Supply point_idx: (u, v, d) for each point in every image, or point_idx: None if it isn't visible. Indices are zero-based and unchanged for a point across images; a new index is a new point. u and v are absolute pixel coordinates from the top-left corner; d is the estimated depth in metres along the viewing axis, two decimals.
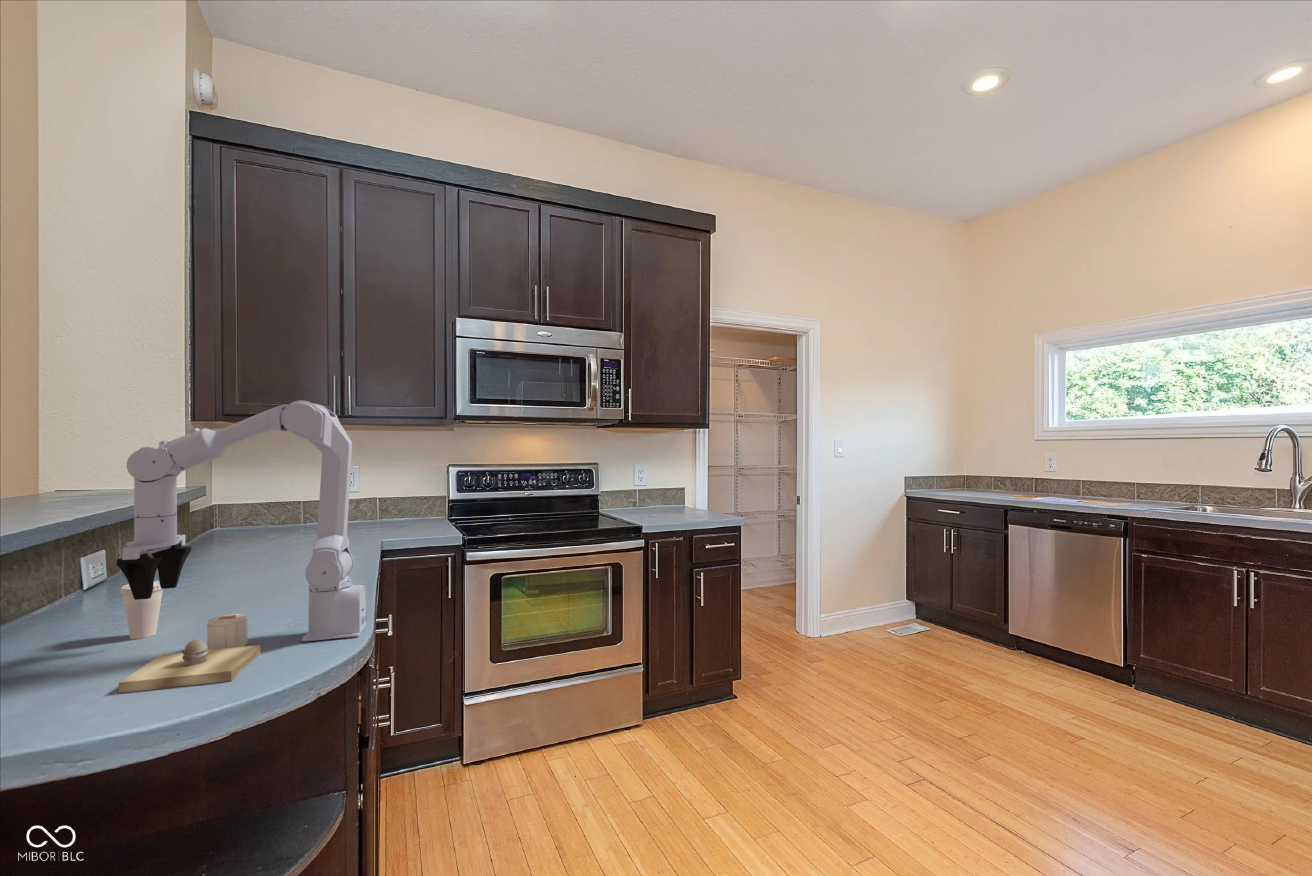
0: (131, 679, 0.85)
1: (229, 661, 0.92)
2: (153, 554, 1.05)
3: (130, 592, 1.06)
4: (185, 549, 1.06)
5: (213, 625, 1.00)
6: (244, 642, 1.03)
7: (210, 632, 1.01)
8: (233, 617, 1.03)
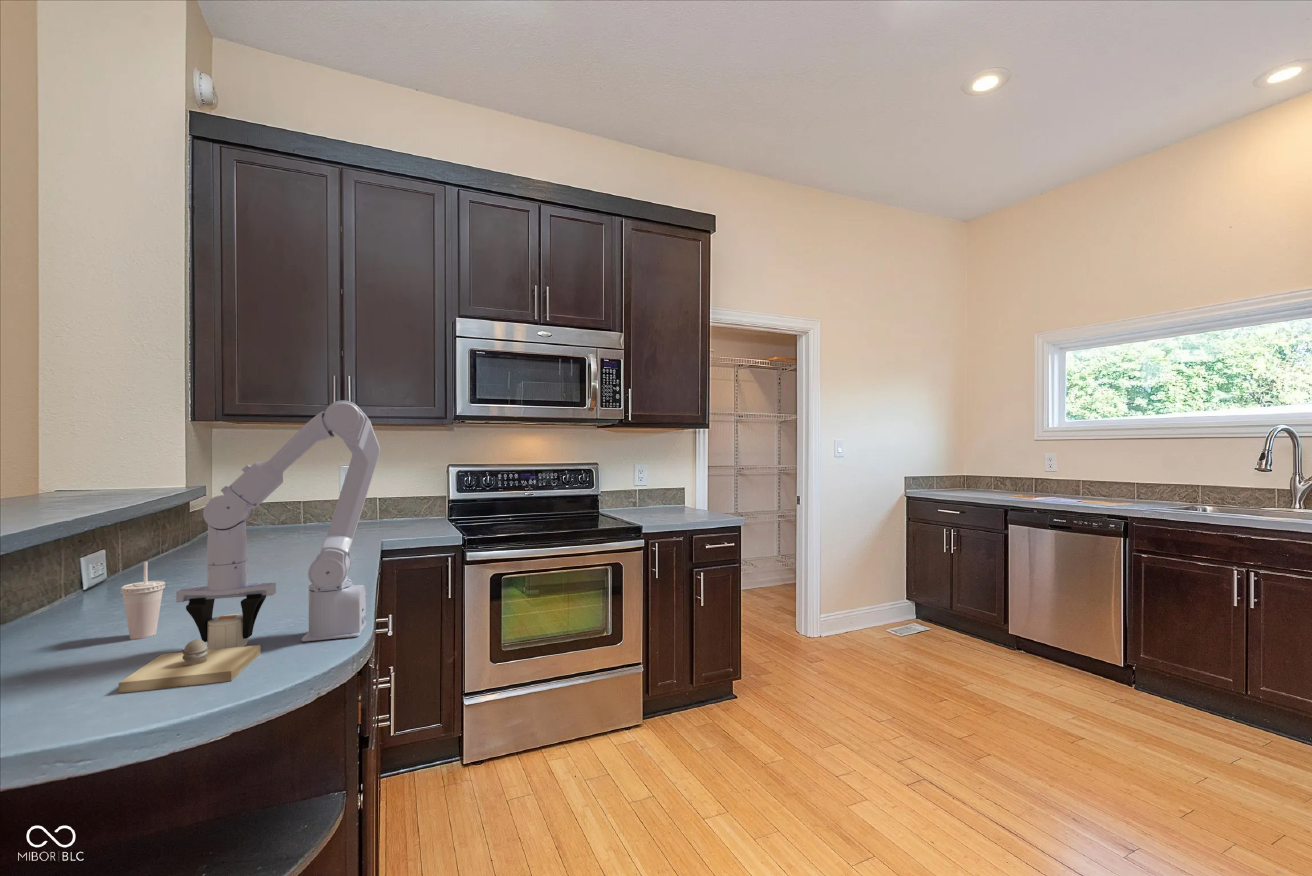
0: (131, 679, 0.85)
1: (229, 661, 0.92)
2: None
3: (130, 592, 1.06)
4: None
5: (213, 625, 1.00)
6: (244, 642, 1.03)
7: (210, 632, 1.01)
8: (233, 617, 1.03)
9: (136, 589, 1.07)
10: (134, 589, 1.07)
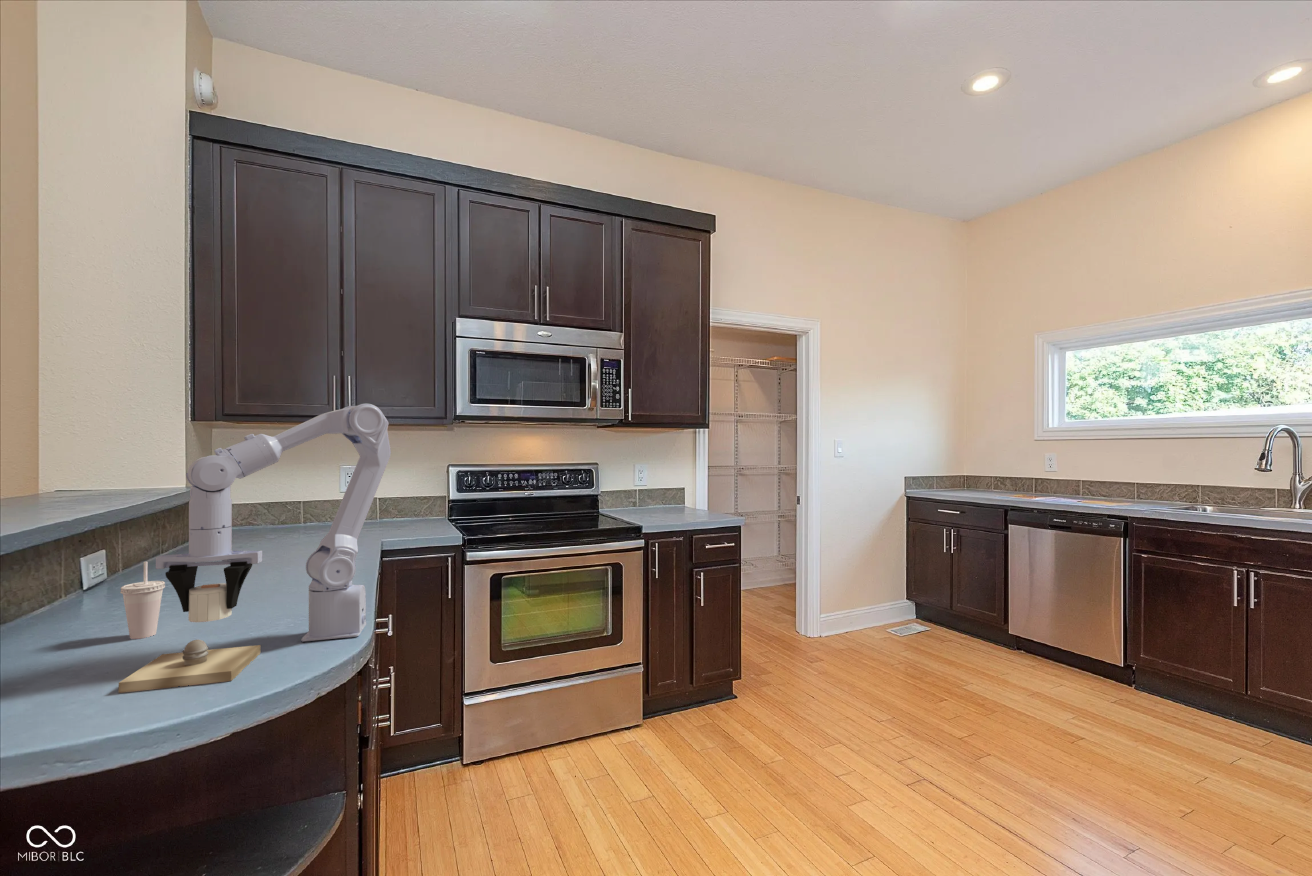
0: (131, 679, 0.85)
1: (229, 661, 0.92)
2: None
3: (130, 592, 1.06)
4: (224, 569, 0.95)
5: (194, 593, 0.94)
6: (228, 613, 0.97)
7: (191, 601, 0.94)
8: (216, 586, 0.97)
9: (136, 589, 1.07)
10: (134, 589, 1.07)
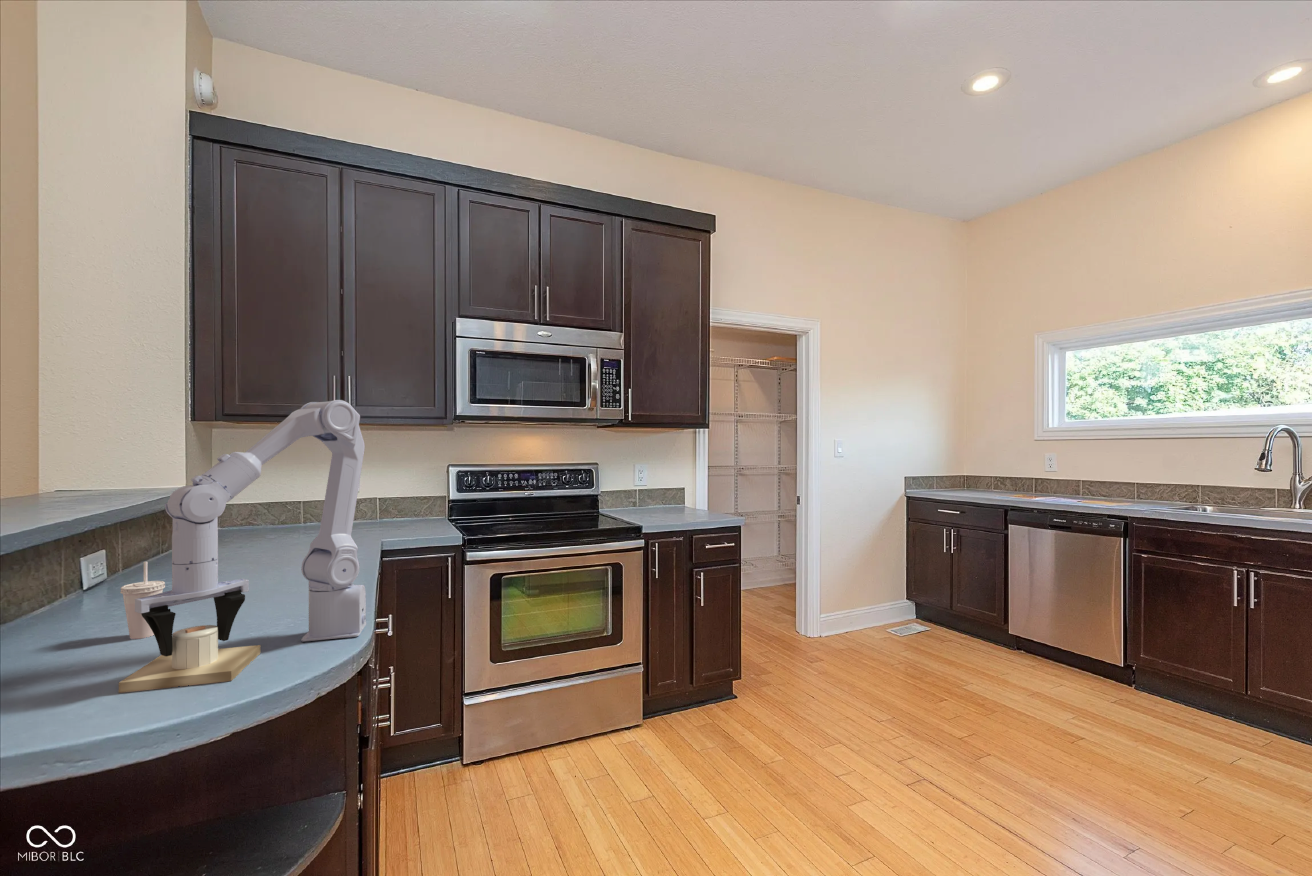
0: (131, 679, 0.85)
1: (229, 661, 0.92)
2: (214, 599, 0.96)
3: (130, 592, 1.06)
4: (230, 599, 0.94)
5: (194, 637, 0.89)
6: (217, 653, 0.94)
7: (189, 646, 0.89)
8: (204, 627, 0.92)
9: (136, 589, 1.07)
10: (134, 589, 1.07)
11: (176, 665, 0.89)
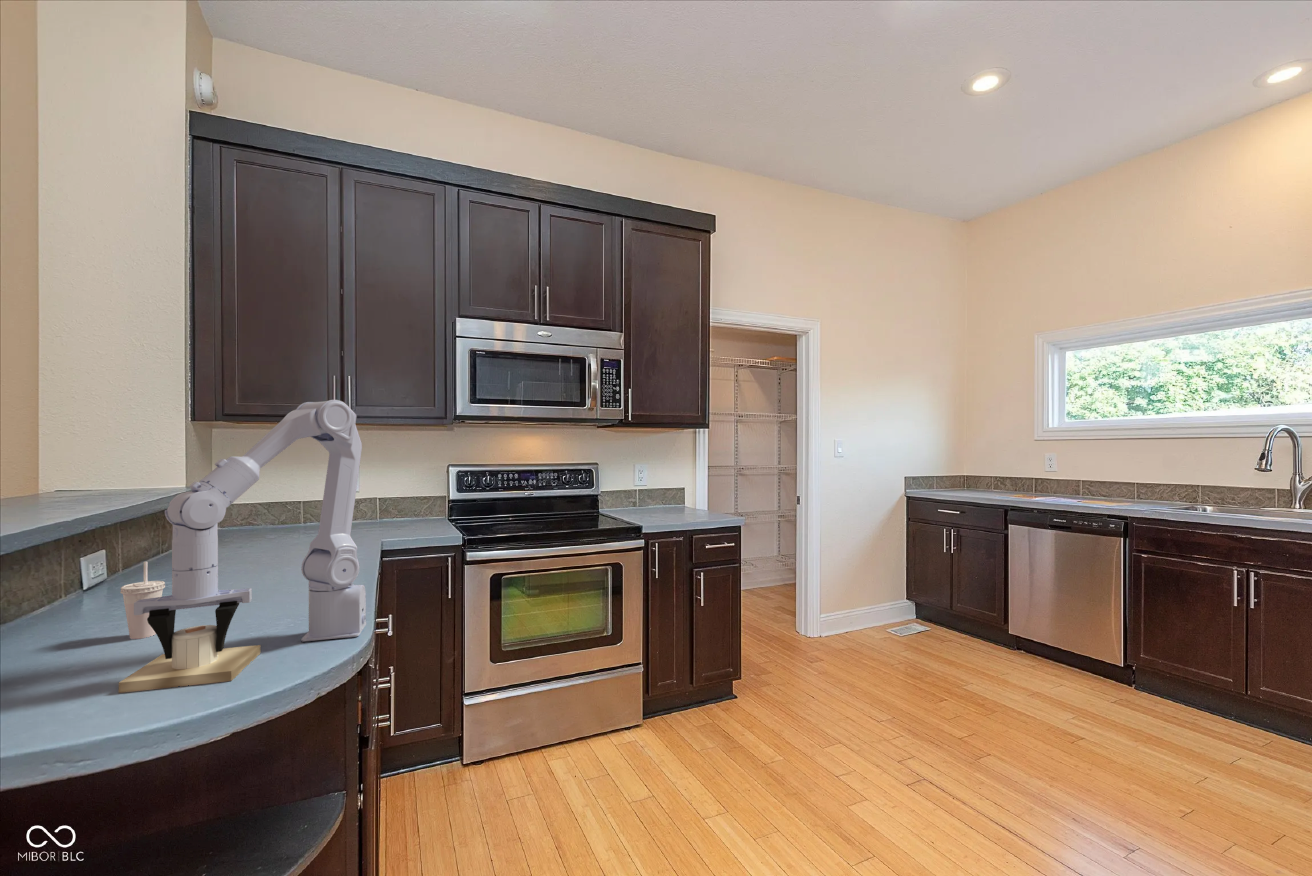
0: (131, 679, 0.85)
1: (229, 661, 0.92)
2: None
3: (130, 592, 1.06)
4: (215, 611, 0.91)
5: (194, 637, 0.89)
6: (217, 653, 0.94)
7: (189, 646, 0.89)
8: (204, 627, 0.92)
9: (136, 589, 1.07)
10: (134, 589, 1.07)
11: (176, 665, 0.89)
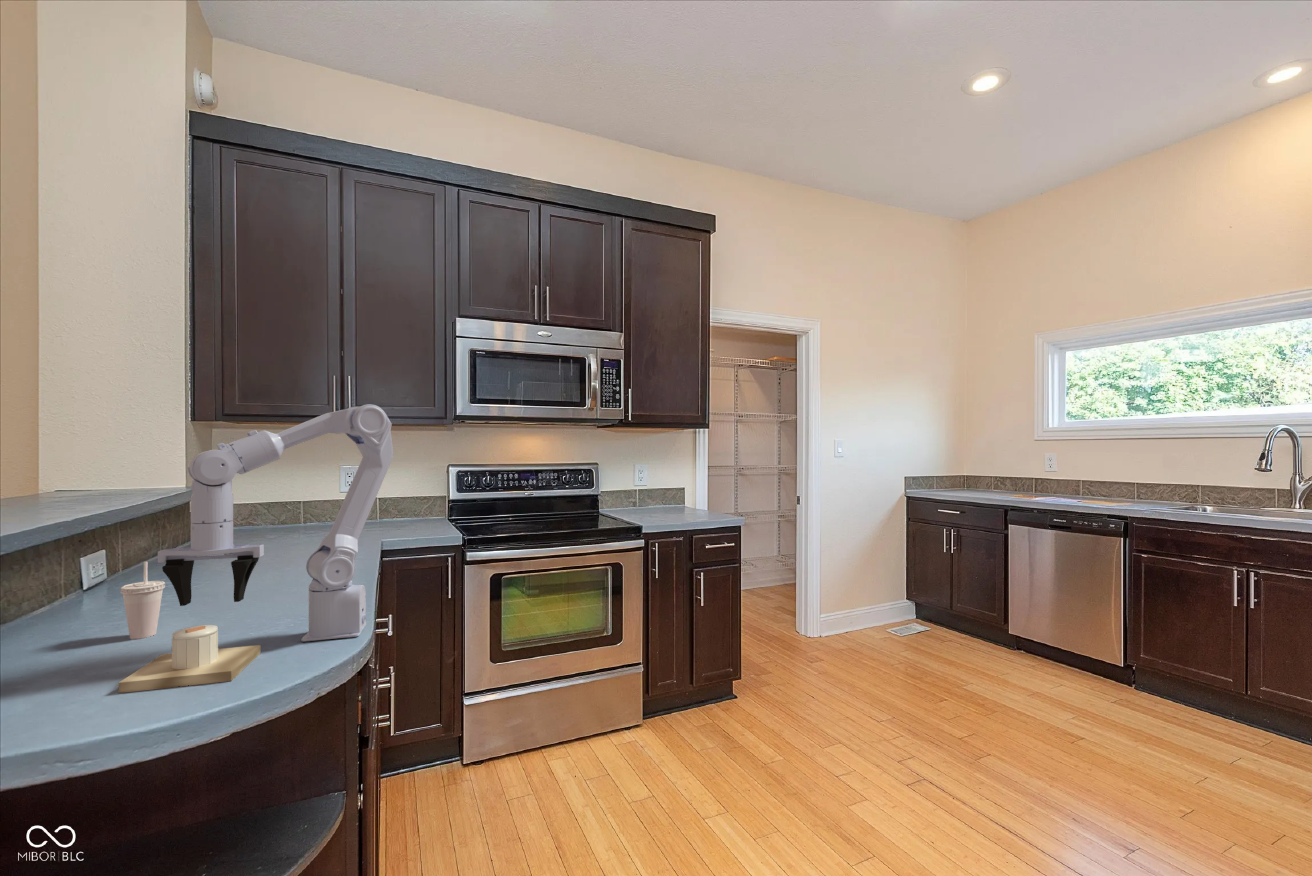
0: (131, 679, 0.85)
1: (229, 661, 0.92)
2: None
3: (130, 592, 1.06)
4: (231, 563, 0.96)
5: (194, 637, 0.89)
6: (217, 653, 0.94)
7: (189, 646, 0.89)
8: (204, 627, 0.92)
9: (136, 589, 1.07)
10: (134, 589, 1.07)
11: (176, 665, 0.89)
